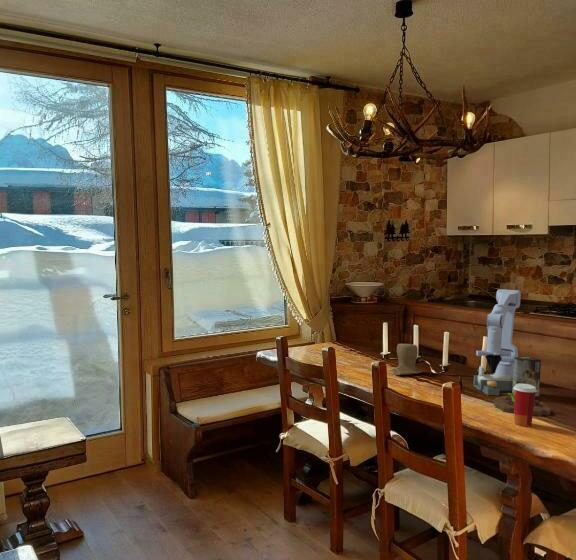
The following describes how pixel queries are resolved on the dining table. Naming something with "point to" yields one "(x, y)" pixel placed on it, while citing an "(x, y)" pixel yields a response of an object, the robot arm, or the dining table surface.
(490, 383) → the plunger
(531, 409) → the paper cup
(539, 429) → the dining table surface
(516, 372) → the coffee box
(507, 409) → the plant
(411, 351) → the grey top hat
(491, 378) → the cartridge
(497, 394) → the housing
